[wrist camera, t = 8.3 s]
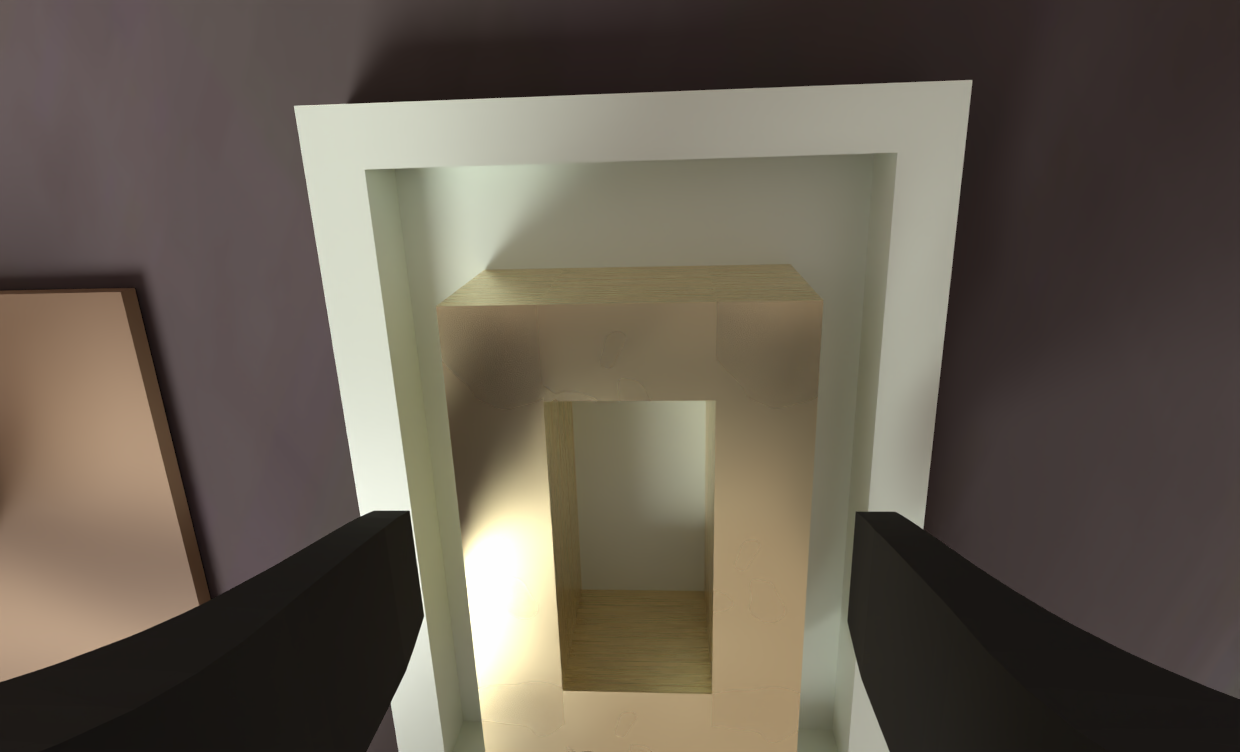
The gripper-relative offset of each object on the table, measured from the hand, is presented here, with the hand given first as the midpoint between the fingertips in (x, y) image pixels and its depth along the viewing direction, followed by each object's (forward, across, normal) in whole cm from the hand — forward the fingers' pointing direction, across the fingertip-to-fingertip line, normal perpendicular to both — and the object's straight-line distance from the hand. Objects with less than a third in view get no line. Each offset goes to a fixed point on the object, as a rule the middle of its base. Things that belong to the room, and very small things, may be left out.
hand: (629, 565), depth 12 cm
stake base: (+4, +15, +1) cm, 15 cm away
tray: (+4, 0, 0) cm, 4 cm away
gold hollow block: (+3, 0, 0) cm, 3 cm away
